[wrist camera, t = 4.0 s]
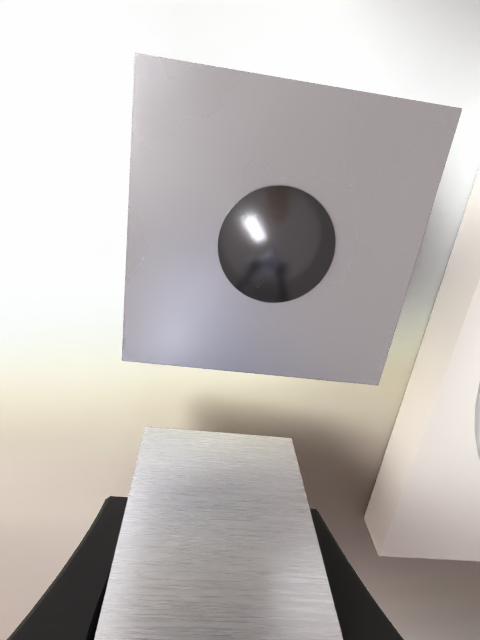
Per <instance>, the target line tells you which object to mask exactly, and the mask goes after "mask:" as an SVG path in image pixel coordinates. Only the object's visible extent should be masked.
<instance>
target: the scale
mask: <svg viewBox="0 0 480 640" xmlns="http://www.w3.org/2000/svg"><path fill="white" fill-rule="evenodd" d="M364 520H365V522H366V525H367V528H368V530H369V533H370V535H371V538H372V541H373V543H374V546H375V548H376V551H377V553H378V556H385V557H404V558H424V559H443V560H462V561H480V167H479V170H478V173H477V176H476V180H475V183H474V186H473V189H472V192H471V195H470V198H469V201H468V204H467V207H466V210H465V213H464V216H463V219H462V222H461V225H460V228H459V231H458V234H457V237H456V240H455V243H454V246H453V249H452V252H451V255H450V258H449V261H448V264H447V267H446V270H445V273H444V276H443V279H442V282H441V285H440V289H439V292H438V295H437V298H436V301H435V304H434V307H433V310H432V313H431V316H430V319H429V322H428V325H427V328H426V331H425V334H424V337H423V340H422V343H421V346H420V349H419V352H418V355H417V358H416V361H415V364H414V367H413V370H412V373H411V376H410V379H409V382H408V385H407V388H406V391H405V394H404V398H403V401H402V404H401V407H400V410H399V413H398V416H397V419H396V422H395V425H394V428H393V431H392V434H391V437H390V440H389V443H388V446H387V449H386V452H385V455H384V458H383V461H382V464H381V467H380V470H379V473H378V476H377V479H376V482H375V485H374V488H373V491H372V494H371V497H370V500H369V503H368V507H367V510H366V513H365V516H364Z"/></svg>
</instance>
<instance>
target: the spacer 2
mask: <svg viewBox="0 0 480 640" xmlns="http://www.w3.org/2000/svg"><path fill="white" fill-rule="evenodd" d="M94 640H343V637H342V633H341V629H340V625H339V621H338V617H337V613H336V610H335V606H334V602H333V598H332V594H331V590H330V586H329V582H328V578H327V574H326V571H325V567H324V563H323V559H322V555H321V551H320V547H319V543H318V539H317V535H316V532H315V528H314V524H313V520H312V516H311V512H310V508H309V504H308V500H307V496H306V493H305V489H304V485H303V481H302V477H301V473H300V469H299V465H298V461H297V457H296V454H295V450H294V446H293V442H292V438H284V437H272V436H259V435H246V434H234V433H221V432H209V431H196V430H184V429H171V428H158V427H146V426H145V429H144V433H143V438H142V442H141V446H140V450H139V454H138V458H137V463H136V467H135V471H134V475H133V479H132V484H131V488H130V492H129V496H128V500H127V504H126V509H125V513H124V517H123V521H122V525H121V529H120V534H119V538H118V542H117V546H116V550H115V554H114V559H113V563H112V567H111V571H110V575H109V579H108V584H107V588H106V592H105V596H104V600H103V605H102V609H101V613H100V617H99V621H98V625H97V630H96V634H95V638H94Z"/></svg>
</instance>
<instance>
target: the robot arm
mask: <svg viewBox="0 0 480 640" xmlns="http://www.w3.org/2000/svg"><path fill="white" fill-rule="evenodd" d="M127 500H128V497H114V496H110V497H109V498H107V499H106V500H105V502H104V504H103V506H102V508H101V510H100V512H99V513H98V515H97V517H96V519H95V520H94V522H93V524H92V525H91V527H90V529H89V530H88V532H87V533H86V535H85V537H84V538H83V540H82V541H81V543H80V544H79V546H78V547H77V549H76V550H75V552H74V553H73V555H72V556H71V557H70V559H69V560H68V562H67V563H66V565H65V566H64V568H63V569H62V570H61V572H60V573H59V575H58V576H57V577H56V579H55V580H54V581H53V583H52V584H51V585H50V587H49V588H48V589H47V591H46V592H45V593H44V594H43V596H42V597H41V598H40V600H39V601H38V602H37V604H36V605H35V606H34V607H33V609H32V610H31V611H30V613H29V614H28V615H27V616H26V618H25V619H24V620H23V621H22V622H21V624H20V625H19V626H18V627H17V628H16V630H15V631H14V632H13V633H12V634H11V636H10V637H9V638H8V639H7V640H94V638H95V634H96V630H97V625H98V621H99V617H100V613H101V609H102V605H103V600H104V596H105V592H106V588H107V584H108V579H109V575H110V571H111V567H112V563H113V559H114V554H115V550H116V546H117V542H118V538H119V534H120V529H121V525H122V521H123V517H124V513H125V509H126V504H127ZM310 512H311V516H312V520H313V524H314V528H315V532H316V535H317V539H318V543H319V547H320V551H321V555H322V559H323V563H324V567H325V571H326V574H327V578H328V582H329V586H330V590H331V594H332V598H333V602H334V606H335V610H336V613H337V617H338V621H339V625H340V629H341V633H342V637H343V640H404V639H403V638H402V637H401V636H400V634H399V633H398V632H397V630H396V629H395V628H394V626H393V625H392V624H391V622H390V621H389V620H388V618H387V617H386V616H385V614H384V613H383V612H382V610H381V609H380V607H379V606H378V605H377V603H376V602H375V600H374V599H373V598H372V596H371V595H370V593H369V592H368V590H367V589H366V587H365V586H364V584H363V583H362V581H361V580H360V578H359V577H358V575H357V574H356V572H355V571H354V570H353V568H352V566H351V565H350V563H349V562H348V560H347V559H346V557H345V555H344V554H343V552H342V551H341V549H340V547H339V546H338V544H337V543H336V541H335V539H334V538H333V536H332V534H331V533H330V531H329V529H328V528H327V526H326V524H325V522H324V521H323V519H322V517H321V516H320V514H319V512H318V511H317V510H316V509H310Z"/></svg>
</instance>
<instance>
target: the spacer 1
mask: <svg viewBox="0 0 480 640" xmlns="http://www.w3.org/2000/svg"><path fill="white" fill-rule="evenodd" d="M461 111H462V108H456V107H450V106H444V105H438V104H432V103H426V102H421V101H415V100H409V99H403V98H397V97H391V96H385V95H379V94H374V93H368V92H362V91H356V90H350V89H344V88H338V87H332V86H327V85H321V84H315V83H309V82H303V81H297V80H291V79H285V78H280V77H274V76H268V75H262V74H256V73H250V72H244V71H238V70H233V69H227V68H221V67H215V66H209V65H203V64H197V63H191V62H186V61H180V60H174V59H168V58H162V57H156V56H150V55H144V54H139V53H135V64H134V88H133V111H132V135H131V158H130V182H129V205H128V228H127V252H126V275H125V299H124V322H123V346H122V361H131V362H141V363H152V364H162V365H172V366H183V367H193V368H203V369H214V370H224V371H234V372H245V373H255V374H265V375H276V376H286V377H296V378H307V379H317V380H327V381H338V382H348V383H358V384H369V385H378V384H379V381H380V378H381V374H382V371H383V368H384V364H385V361H386V358H387V355H388V351H389V348H390V345H391V341H392V338H393V335H394V331H395V328H396V325H397V322H398V318H399V315H400V312H401V308H402V305H403V302H404V299H405V295H406V292H407V289H408V285H409V282H410V279H411V276H412V272H413V269H414V266H415V262H416V259H417V256H418V252H419V249H420V246H421V243H422V239H423V236H424V233H425V229H426V226H427V223H428V220H429V216H430V213H431V210H432V206H433V203H434V200H435V197H436V193H437V190H438V187H439V183H440V180H441V177H442V173H443V170H444V167H445V164H446V160H447V157H448V154H449V150H450V147H451V144H452V141H453V137H454V134H455V131H456V127H457V124H458V121H459V118H460V114H461Z"/></svg>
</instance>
